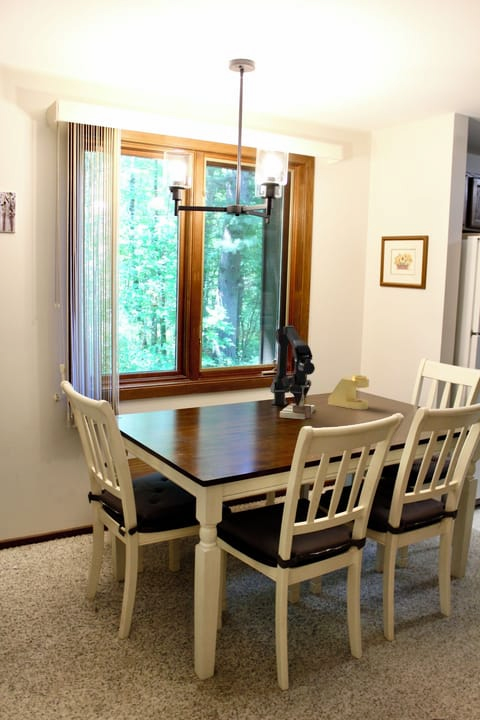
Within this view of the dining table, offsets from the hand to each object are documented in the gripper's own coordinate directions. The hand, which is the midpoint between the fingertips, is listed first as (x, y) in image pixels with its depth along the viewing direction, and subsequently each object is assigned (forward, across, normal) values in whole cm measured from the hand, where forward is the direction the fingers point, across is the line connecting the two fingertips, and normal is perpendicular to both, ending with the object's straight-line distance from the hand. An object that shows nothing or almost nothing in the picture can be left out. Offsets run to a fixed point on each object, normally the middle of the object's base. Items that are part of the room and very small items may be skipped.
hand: (300, 403), depth 313 cm
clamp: (+7, -34, +17) cm, 38 cm away
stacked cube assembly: (+6, 0, +1) cm, 6 cm away
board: (+7, -7, -3) cm, 10 cm away
